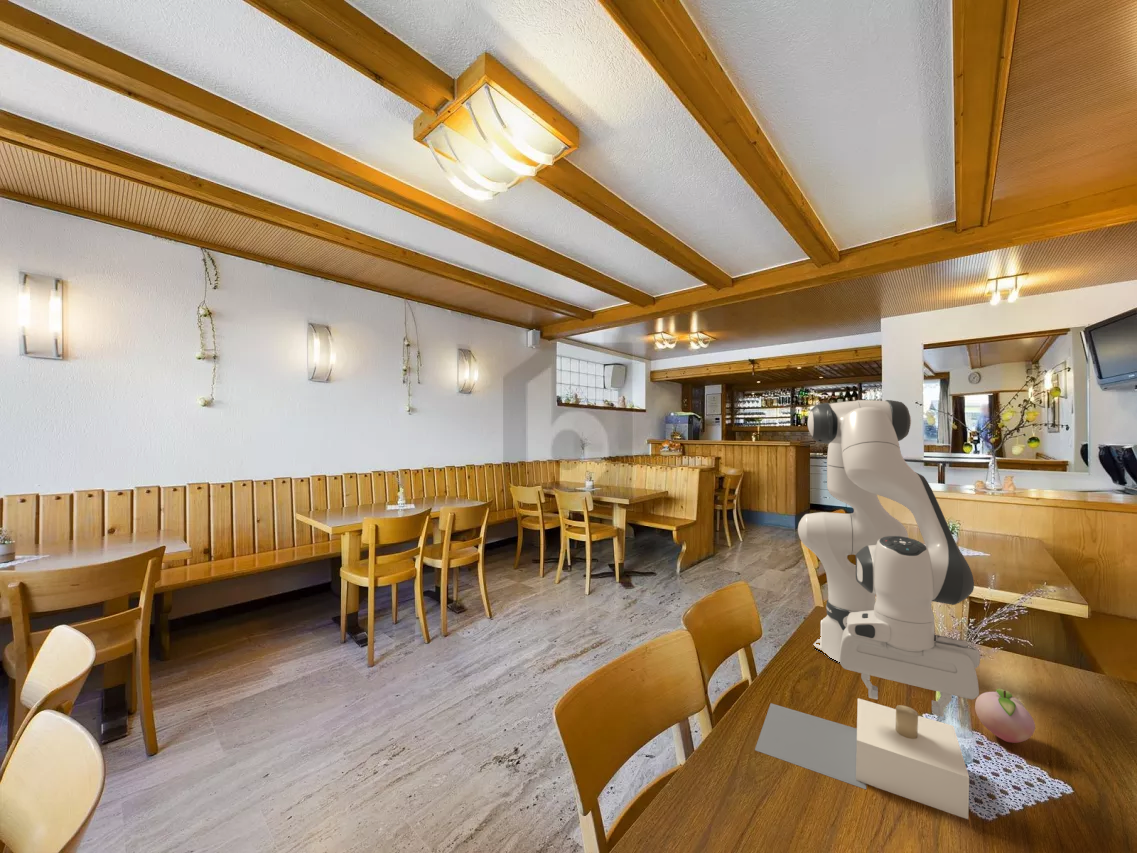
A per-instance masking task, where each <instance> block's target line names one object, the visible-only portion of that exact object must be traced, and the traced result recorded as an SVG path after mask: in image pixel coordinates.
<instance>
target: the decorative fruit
mask: <svg viewBox="0 0 1137 853" xmlns="http://www.w3.org/2000/svg"><path fill="white" fill-rule="evenodd" d="M974 705H975V706H974V711H975V713H976V715H977V718H978V720H979V721H980V723H981V724H982V725H983V726H984V727H985V728H986V729H987V730H988V731H990V732H991V733H992V734H993V735H994V736H995V737H997V738H999V739H1001V740H1003V741H1004V742H1007V743H1014V744H1017V743H1022V742H1026V741H1028V740H1029V739H1030V738H1031V737H1033V734H1034V733H1035V731H1036V723H1035V721H1034V718H1033V717H1032V715H1031V714H1030V712H1029V711H1028V709H1026V708H1025V706H1024V704H1023V703H1022V702H1021V701H1020V700H1019V699H1018V698H1016V697H1015V696H1013V694H1012V693H1011V691H1009V690H1006V689H1003V688H997V689H995V691H985V692H983V693H981V694H979V696H978V697H976V698H975V703H974Z"/></svg>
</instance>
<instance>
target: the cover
mask: <svg viewBox="0 0 1137 853" xmlns="http://www.w3.org/2000/svg"><path fill="white" fill-rule="evenodd" d="M856 709H857V710H856V711H857V712H856V713H857V714H856V717H857V718H856V729H857V751H856V780H858V781H861V782H863V783H866V785H869V786H872V787H874V788H876V789H880V790H883V791H885V792H888V793H891V794H894V795H897V796H900V797H903V798H906V799H909V800H911V801H914V802H918V803H920V804H922V805H926V806H928V807H932V808H934V809H937V810H940V811H943V812H946V813H948V814H952V815H954V816H957V817H959V818H962V819H966V820H969V810H970V809H969V807H970V806H969V803H970V802H969V801H970V798H969V797H970V775H969V772H968V769H967V766H966V762H965V760H964V756H963V753H962V749H961V745H960V743H959V740H958V737H957V733H956V730H955V728H954V725H952V724H948V723H945V722H941V721H938V720H935V719H931V718H927V717H924V716H921V715H919V712H918V711H916V710H915V709H914V708H912V707H910V706H907V705H902V704H901V705H900V704H899V705H896V706H895V708H892V707H891V706H890V707H889V706H887V705H883V704H879V703H875V702H872V701H869V700H865V699H863V698H857V708H856Z"/></svg>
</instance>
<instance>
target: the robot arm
mask: <svg viewBox="0 0 1137 853" xmlns="http://www.w3.org/2000/svg"><path fill="white" fill-rule="evenodd" d="M911 417H912V416H911V414H910V411H909V408H908V407H907V405H906V404H905V403H904V402H902V401H900V400H899V401H898V400H893V399H892V400H891V399H890V400H889V399H886V400H885V401H884V400H875V399H874V400H871V399H856V400H851V401H840V402H832V403H829V402H825V403H824V402H823V403H819V404H816V405H815V406H813V407H812V408H811V409H810V413H809V415H808V418H807V429H808V431H809V434H810V436H811V438H812V439H813V440H814V441H816V442H818V443H822V444H827V445H828V446H827V454H826V455H827V456H826V457H827V458H826V479H827V480H826V486H827V487H826V488H827V491H828V493H829V494H830V495H831V496H832V497H833V498H835V499H836V500H838V501H840V502H841V503H844V504H847V505H848V506H850V507H851V508H852V509H853V512H851V513H841V512H827V511H825V512H824V511H820V512H813V513H811V512H810V513H805V514H804V515H803V516H802V517H801V519H800V520H799V522H798V526H797V534H798V538H799V539H800V541H801V542H802V544H803V545H804V547H806V548H807V549H809V550H810V551H811V552H812V553H813V554H814V555H815V556H816V557H817V558H818V559H819V561H820V562H821V564H822V566H823V568H824V570H825V574H826V583H827V593H828V594H827V597H828V598H827V600H826V604H825V609H826V616H825V617H823V619H821V620H820V636H821V637H820V636H819V637H820V639H818V638H817V639H816V641H815V642H814V643H813V644H812V646H813V645H814V646H815V647H816V648H818V649H820V650H822V651H823V652H824V653H826V654H827V655H828V656H829V657H830V658H832V659H834V660H836V661H838V662H837V663H839V662H840V663H839V664H840V665H841V667H842V668H843V669H844V670H848V671H851V672H855V673H859V674H861V675H860V677H861V680H862V682H863V684H864V685H865V687H866V688H867V690H868V693H867V694H868V698H869V699H873V700H878V699H879V696H878V695H879V694H878V693H879V688H878V686H876V685H874V684H872V681H870V680H871V677H877V678H880V679H885V680H888V681H891V682H893V681H894V682H897V683H901V684H906V685H909V686H915V687H918V688H922V689H926V690H931V691H934V692H939V694H940V697H939V698H938V700H934V699H933V700H931V713H932V715H935V716H939V717H942V718H944V709H945V708H946V707H947V706H948V705H949V704H950V703H951V702H952V700H953V699H952V696H956V697H959V698H963V699H967V700H974V699H975V700H976V699H977V698H978V697H979V696H980V689H979V680H978V676H977V671H976V669H977V668H978V667H979V666H980V664H981V663H980V662H981V660H980V659H981V657H980V655H981V654H980V651H979V650H978V649H977V648H976V646H974V645H972V644H971V643H969V642H968V641H966V640H963V639H955V638H951V637H947V636H942V635H938V634H936V633H935V615H934V611H933V609H932V602H935V603H939V604H940V603H941V604H946V605H952V606H954V605H957V604H959V603H961V602H963V601H964V600H966V599H967V598H968V597H970V596H971V595H972V593H973V592H974V590H975V580H974V576H973V572H972V569H971V567H970V565H969V563H968V561H967V560H966V558H965V556H964V555H963V553H962V551H961V550H960V548H959V547H958V545H957V543H956V541H955V538H954V536H953V533H952V531H951V529H950V527H949V525H948V523H947V520H946V518H945V516H944V513H943V511H942V508H941V506H940V504H939V502H938V499H937V497H936V495H935V493H934V491H933V490H932V488H931V485H930V484H929V482H928V481H927V479H926V478H925V476H924V475H922V474H921V473H918V472H916V471H914V469H913V468H911V467H910V466H909V465H908V463H907V462H906V460H905V458H904V457H903V454H902V453H901V447H900V443H899V442H900V441H902V440H904V438H906V437H907V436H908V435H909V433H910V429H911V425H912V418H911ZM879 497H883V498H887V499H889V500H892V501H894V502H896V503H898V504H900V505H902V506H903V507H905V508H906V509H907V510H909V511H910V513H911V514H912V515H913V517H914V520H915V522H916V525H917V527H918V529H919V532H920V535H921V537H922V539H923V542H924V543H923V542H921V541H919V540H917V539H913V538H911V537H909V533H908V531H907V528H905V526H904V524H902V522H901V521H900V520H899V519H897V518H896V517H894V516H892V515H891V514H890V513H889V512H888V511H887V510H886V509H885V508H884V506H883V505H882V503H881V501H880V499H879ZM851 555H854V556H855V564H854V563H852V562H851V561H850V560H849V559H848V556H851ZM816 643H820V645H819V644H816ZM829 657H828V658H829ZM830 658H829V659H830ZM832 659H831V660H832ZM834 660H833V661H834ZM836 661H835V662H836Z"/></svg>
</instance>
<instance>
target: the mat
mask: <svg viewBox="0 0 1137 853" xmlns="http://www.w3.org/2000/svg"><path fill="white" fill-rule="evenodd" d="M754 751H755V752H757V753H761V754H764V755H768V756H770V757H772V758H775V759H779V760H782V761H785V762H787V763H789V764H793V765H796V766H799V767H801V768H804V769H807V770H810V771H812V772H816V773H818V774H821V775H822V776H823V775H824V776H827V777H829V778H832V779H835V780H838V781H841V782H844V783H846V784H850V785H852V786H855V787H857V788H861V789H863V790H867V784H866V783H863V782H861V781H858V780H856V751H857V727H854V726H853V727H852V726H849V725H846V724H842V723H840V722H835V721H831V720H828V719H825V718H822V717H819V716H815V715H812V714H808V713H805V712H801V711H798V710H795V709H792V708H788V707H784V706H781V705H778V704H774V703H773V702H772V703H771V702H770V704H769V707H768V709H767V714H766V715H765V719H764V722H763V724H762V727H761V730H760V733H759V736H758V740H757V742H756V744H755V748H754Z"/></svg>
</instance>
